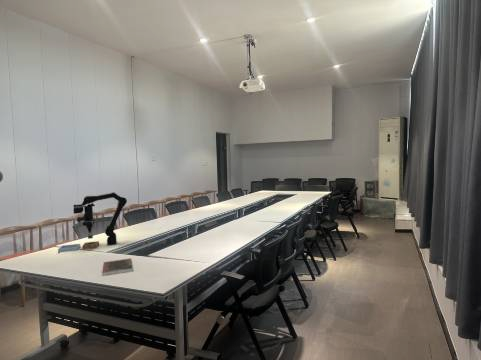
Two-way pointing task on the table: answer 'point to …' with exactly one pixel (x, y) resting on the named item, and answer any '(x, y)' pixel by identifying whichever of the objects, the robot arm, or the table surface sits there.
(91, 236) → the pin
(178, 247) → the table surface
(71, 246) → the tray
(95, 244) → the socket block
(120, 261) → the picture frame
